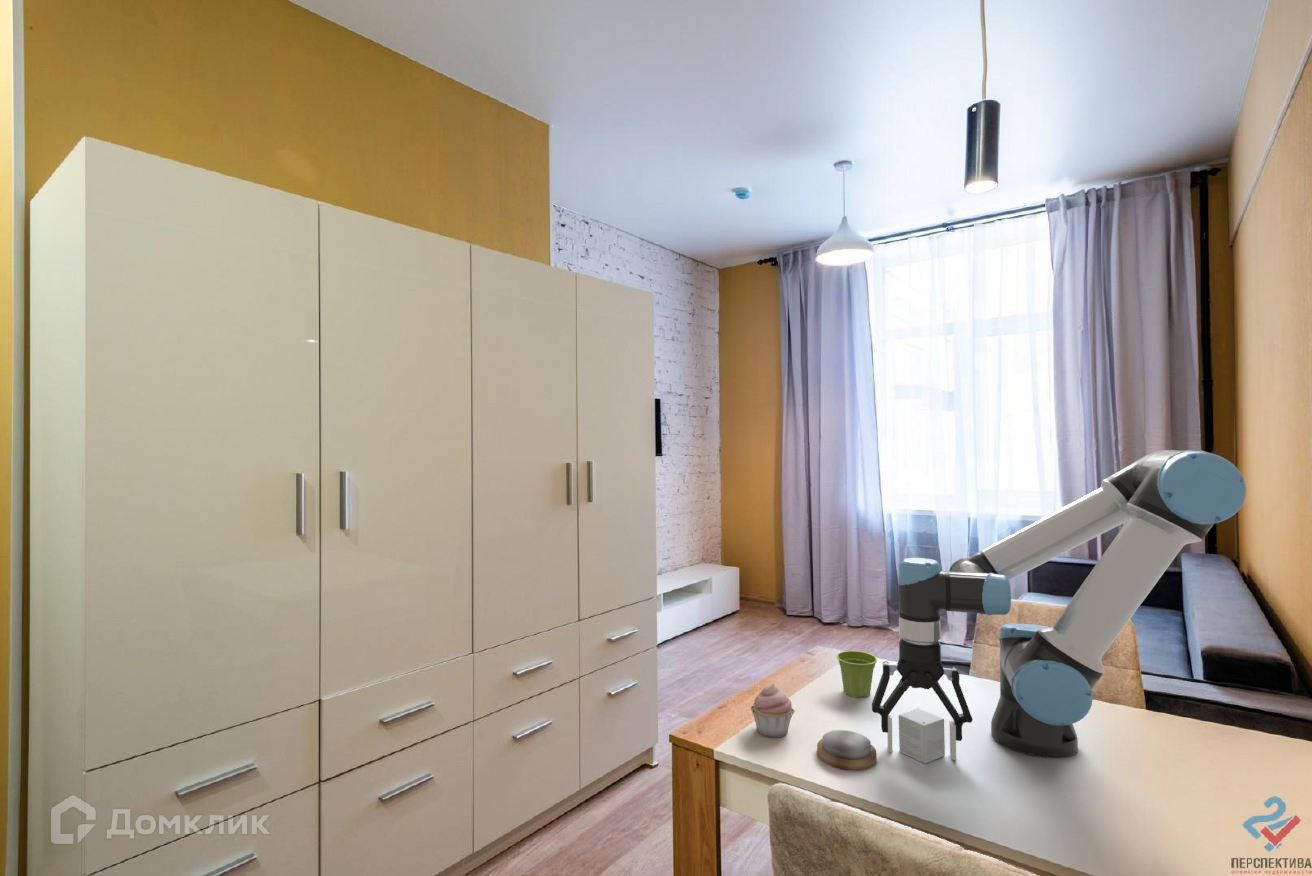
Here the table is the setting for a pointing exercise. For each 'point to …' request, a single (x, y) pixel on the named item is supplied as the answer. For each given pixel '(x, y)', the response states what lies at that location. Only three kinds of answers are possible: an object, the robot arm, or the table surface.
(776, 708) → the cupcake
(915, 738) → the product box
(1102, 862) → the table surface
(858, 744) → the pedestal
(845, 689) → the plant pot
